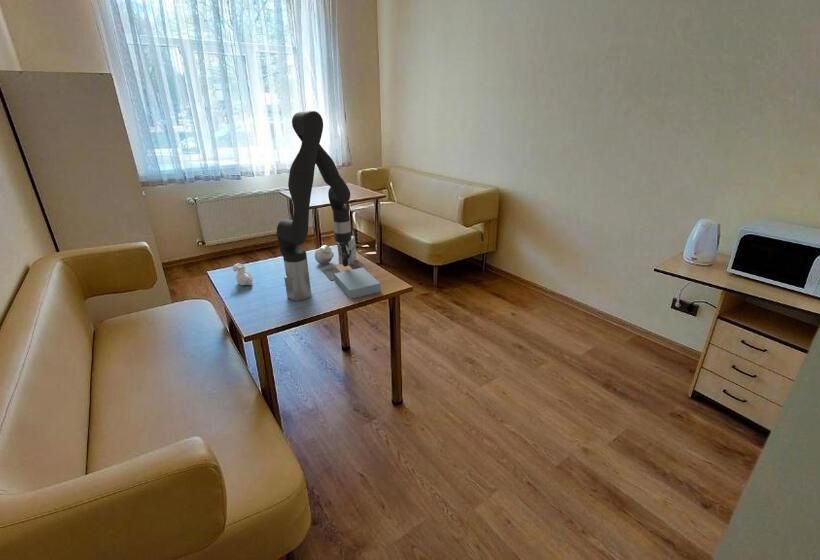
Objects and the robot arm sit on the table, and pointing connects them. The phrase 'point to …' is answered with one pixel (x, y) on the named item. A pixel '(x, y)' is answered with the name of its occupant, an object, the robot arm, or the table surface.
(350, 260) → the supplement box
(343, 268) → the tan rectangular block
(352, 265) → the mat
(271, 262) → the table surface
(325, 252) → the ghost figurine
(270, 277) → the table surface
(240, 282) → the duck figurine
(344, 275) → the block
